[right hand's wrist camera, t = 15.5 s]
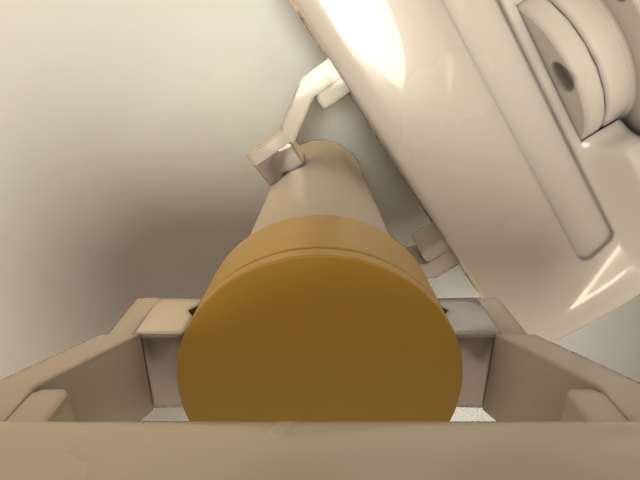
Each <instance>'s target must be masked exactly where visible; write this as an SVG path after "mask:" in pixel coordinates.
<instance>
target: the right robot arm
mask: <svg viewBox="0 0 640 480" xmlns="http://www.w3.org/2000/svg"><path fill="white" fill-rule="evenodd" d="M201 300H202V299H196V298H161V297H156V298H138V299H137V300H136V301H135V302H134V303H133V305H132V306H131V307H130V308H129V309H128V311H127V312H126V313H125V314H124V315H123V317H122V318H121V319H120V320H119V321H118V323H117V324H116V325H115V326H114V328H113V329H112V330H111V331H110V332H109V334H101V335H98V336H96V337H94V338H92V339H90V340H87V341H85V342H83V343H81V344H79V345H76V346H74V347H72V348H70V349H68V350H66V351H63V352H61V353H59V354H57V355H55V356H52V357H50V358H48V359H46V360H44V361H42V362H39V363H37V364H35V365H33V366H31V367H28V368H26V369H24V370H22V371H20V372H17V373H15V374H13V375H11V376H9V377H7V378H4V379H2V380H0V480H640V383H639V382H637V381H634V380H632V379H630V378H628V377H626V376H624V375H622V374H619V373H617V372H615V371H613V370H611V369H609V368H606V367H604V366H602V365H600V364H598V363H596V362H593V361H591V360H589V359H587V358H585V357H583V356H581V355H578V354H576V353H574V352H572V351H570V350H568V349H565V348H563V347H561V346H559V345H557V344H555V343H552V342H550V341H548V340H546V339H544V338H542V337H540V336H537V335H535V334H527V333H526V331H525V330H524V329H523V328H522V327H521V325H520V324H519V323H518V322H517V320H516V319H515V318H514V317H513V315H512V314H511V313H510V312H509V311H508V309H507V308H506V307H505V306H504V304H503V303H502V302H501V301H500V300H499V299H498V298H495V297H491V298H445V299H438V301H439V303H440V305H441V307H442V309H443V311H444V313H445V314H446V316H447V318H448V320H449V322H450V324H451V326H452V328H453V330H454V332H455V334H456V337H457V340H458V344H459V347H460V350H461V357H462V364H463V377H462V386H461V392H460V397H459V400H458V403H457V406H456V407H477V408H483V410H484V411H485V412H486V413H488V414H489V415H490V416H491V417H492V418H493V419H495V420H496V421H497V422H236V421H140V420H141V419H143V418H144V417H145V416H146V415H147V414H149V413H150V412H151V411H152V410H153V408H159V407H183V405H182V402H181V398H180V394H179V390H178V382H177V358H178V353H179V349H180V344H181V341H182V339H183V336H184V333H185V331H186V328H187V326H188V324H189V323H190V321H191V319H192V317H193V315H194V313H195V311H196V309H197V307H198V306H199V304H200V302H201Z"/></svg>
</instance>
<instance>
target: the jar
mask: <svg viewBox="0 0 640 480" xmlns="http://www.w3.org/2000/svg"><path fill="white" fill-rule="evenodd" d="M299 146H300V147H301V149H302V150H303V152H304V153H305V155H306V156H305V158H304V159H305V161H304V163H303V164H302V165H300V166H299V167H297V168H296V169H295V170H293V171H291V172H284V174H283V176H282V178H281V179H280V180H279V181H278V182H276V183H275V184H273V185H272V187H271V189H270V191H269V193H268V196H267V198H266V200H265V202H264V205H263V207H262V209H261V212H260V214H259V216H258V218H257V221H256V223H255V225H254V227H253V230H252V232H251V234H253V233H254V232H256V231H258V230H260V229H262V228H264V227H266V226H268V225H270V224H273V223H276V222H279V221H281V220H285V219H289V218H294V217H298V216H307V215H334V216H340V217H347V218H351V219H354V220H358V221H361V222H364V223H367V224H369V225H371V226H374V227H376V228H378V229H380V230H381V231H383V232H385V233H386V234H388V235H389V233H388V231H387V228H386V226H385V224H384V222H383V219H382V217H381V215H380V212H379V210H378V208H377V206H376V203H375V201H374V199H373V196H372V194H371V192H370V189H369V187H368V185H367V183H366V180H365V178H364V176H363V173H362V171H361V169H360V167H359V164H358V162H357V161H356V159H355V158H354V156H353V155H352V154H351V153H350V152H349V151H348V150H347V149H345V148H344V147H342V146H340V145H339V144H336V143H333V142H330V141H323V140H316V141H310V142H307V143H304V144H302V145H299ZM251 234H250V235H251Z"/></svg>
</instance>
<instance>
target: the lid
mask: <svg viewBox="0 0 640 480" xmlns="http://www.w3.org/2000/svg"><path fill="white" fill-rule="evenodd" d="M462 377H463V364H462V357H461V350H460V347H459V344H458V340H457V337H456V334H455V332H454V330H453V328H452V326H451V324H450V322H449V320H448V318H447V316H446V314H445V313H444V311H443V309H442V307H441V305H440V303H439V301H438V299H437V297H436V295H435V293H434V292H433V290H432V288H431V286H430V284H429V282H428V280H427V278H426V276H425V274H424V272H423V270H422V269H421V267H420V266H419V264H418V263H417V261H416V260H415V258H414V257H413V256H412V255H411V254H410V253H409V252H408V251H407V250H406V248H405V247H404V246H403V245H401V244H400V243H399V242H398V241H396V240H395V239H394V238H393V237H391V236H390V235H388V234H386V233H385V232H383V231H381V230H380V229H378V228H376V227H374V226H371V225H369V224H367V223H364V222H361V221H358V220H354V219H351V218H347V217H340V216H334V215H307V216H298V217H294V218H289V219H285V220H281V221H279V222H276V223H273V224H270V225H268V226H266V227H264V228H262V229H260V230H258V231H256V232H254V233H253V234H251V235H250V236H249V237H247V238H246V239H244V240H243V241H242V242H241V243H239V244H238V245H237V246H236V247H235V248H234V249H233V250H232V251H231V252H230V253H229V254H228V256H227V257H226V258H225V259H224V261H223V262H222V263H221V265H220V267H219V268H218V270H217V272H216V274H215V275H214V277H213V279H212V281H211V283H210V285H209V287H208V289H207V290H206V292H205V294H204V296H203V298H202V300H201V302H200V304H199V306H198V307H197V309H196V311H195V313H194V315H193V317H192V319H191V321H190V323H189V324H188V326H187V328H186V331H185V333H184V336H183V339H182V341H181V344H180V349H179V353H178V358H177V382H178V390H179V394H180V398H181V402H182V405H183V407H184V410H185V412H186V414H187V416H188V419H189V420H190V421H236V422H449V421H450V419H451V417H452V415H453V413H454V412H455V409H456V406H457V403H458V400H459V397H460V392H461V386H462Z"/></svg>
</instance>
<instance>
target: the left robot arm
mask: <svg viewBox="0 0 640 480" xmlns="http://www.w3.org/2000/svg"><path fill="white" fill-rule="evenodd" d="M289 1H290V2H291V4H292V5H293V7H294V8H295V10H296V12H297V13H298V15H299V16H300V18H301V19H302V21H303V22H304V24H305V26H306V27H307V29H308V30H309V32H310V33H311V35H312V37H313V38H314V40H315V41H316V43H317V44H318V46H319V47H320V49H321V51H322V52H323V54H324V55H325V57H326V58H327V59H326V60H325V61H323V62H322V63H321V64H319V65H318V66H317V67H316V68H314V69H313V70H312V71H310V72H309V73H308V74H306V75H305V76H304V77H302V79H301V81H300V83H299V86H298V88H297V90H296V93H295V95H294V98H293V100H292V102H291V105H290V107H289V109H288V112H287V114H286V116H285V119H284V121H283V123H282V126H281V130H280V131H278V132H277V133H275V134H274V135H273V136H271V137H270V138H269V139H267V140H266V141H265V142H263V143H262V144H261V145H259V146H258V147H257V148H256V149H254V150H253V151H252V152H251V153H250V154H249V155H248V156H247V157H248V159H249V160H250V161H251V163H252V164H253V166H254V167H255V168H256V169H257V170H258V172H259V173H260V174H261V175H262V177H263V178H264V179H265V181H266V182H267V183H268V184H269V186H271V185H273V184H275V183H276V182H278V181H279V180H280V179H281V178H282V176H283V174H284V172H291V171H293V170H295V169H296V168H297V167H299V166H300V165H302V164H303V163H304V161H305V159H304V158H305V156H306V155H305V153H304V152H303V150H302V149H301V147H300V146H299V144H298V143H297V141H296V137H297V135H298V133H299V130H300V128H301V126H302V124H303V121H304V119H305V117H306V114H307V112H308V110H309V108H310V105H311V103H312V101H313V99H314V97H315V96H317V100H318V102H319V103H320V105H321V106H322V108H328V107H329V106H331V105H332V104H333V103H335V102H336V101H338V100H339V99H341V98H342V97H343V96H345V95H346V94H348V93H349V94H350V96H351V97H352V99H353V100H354V102H355V103H356V105H357V107H358V108H359V110H360V111H361V113H362V114H363V116H364V117H365V119H366V121H367V122H368V124H369V125H370V127H371V128H372V130H373V131H374V133H375V135H376V136H377V138H378V139H379V141H380V142H381V144H382V145H383V147H384V149H385V150H386V152H387V153H388V155H389V156H390V158H391V159H392V161H393V163H394V164H395V166H396V167H397V169H398V170H399V172H400V173H401V175H402V177H403V178H404V180H405V181H406V183H407V184H408V186H409V187H410V189H411V191H412V192H413V194H414V195H415V197H416V198H417V200H418V201H419V203H420V205H421V206H422V208H423V209H424V211H425V212H426V214H427V216H428V217H429V219H430V220H431V222H430V223H429V224H427V225H426V226H424V227H423V228H421V229H420V230H418V231H417V232H415V233H413V234H412V237H411V238H412V239H413V241H414V243H415V245H416V246H410V247H405V248H406V250H407V251H408V252H409V253H410V254H411V255H412V256H413V257H414V258H415V260H416V261H417V263H418V264H419V266H420V267H421V269H422V270H423V272H424V274H425V276H426V278H436V277H438V276H440V275H441V274H443V273H445V272H446V271H448V270H450V269H451V268H453V267H455V266H457V265H458V264H459V265H460V267H461V268H462V270H463V272H464V273H465V275H466V276H467V278H468V279H469V281H470V282H471V284H472V286H473V287H474V289H475V290H476V292H477V293H478V295H479V296H480V298H491V297H495V298H498V299H499V300H500V301H501V302H502V303H503V304H504V306H505V307H506V308H507V309H508V311H509V312H510V313H511V314H512V315H513V317H514V318H515V319H516V320H517V322H518V323H519V324H520V325H521V327H522V328H523V329H524V330H525V331H526V333H527V334H535V335H537V336H540V337H542V338H544V339H546V340H548V341H550V342H553V341H555V340H558V339H560V338H563V337H565V336H567V335H568V334H570V333H572V332H574V331H576V330H578V329H580V328H582V327H584V326H586V325H588V324H590V323H592V322H594V321H595V320H597V319H599V318H601V317H603V316H604V315H606V314H608V313H610V312H611V311H613V310H615V309H616V308H618V307H620V306H622V305H623V304H625V303H626V302H628V301H630V300H631V299H633V298H635V297H636V296H638V295H640V0H289Z"/></svg>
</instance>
